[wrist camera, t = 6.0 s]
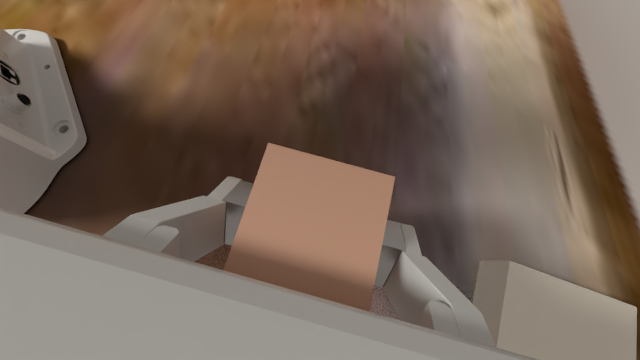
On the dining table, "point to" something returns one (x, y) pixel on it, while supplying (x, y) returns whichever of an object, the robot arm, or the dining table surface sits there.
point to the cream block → (552, 315)
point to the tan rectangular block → (313, 226)
